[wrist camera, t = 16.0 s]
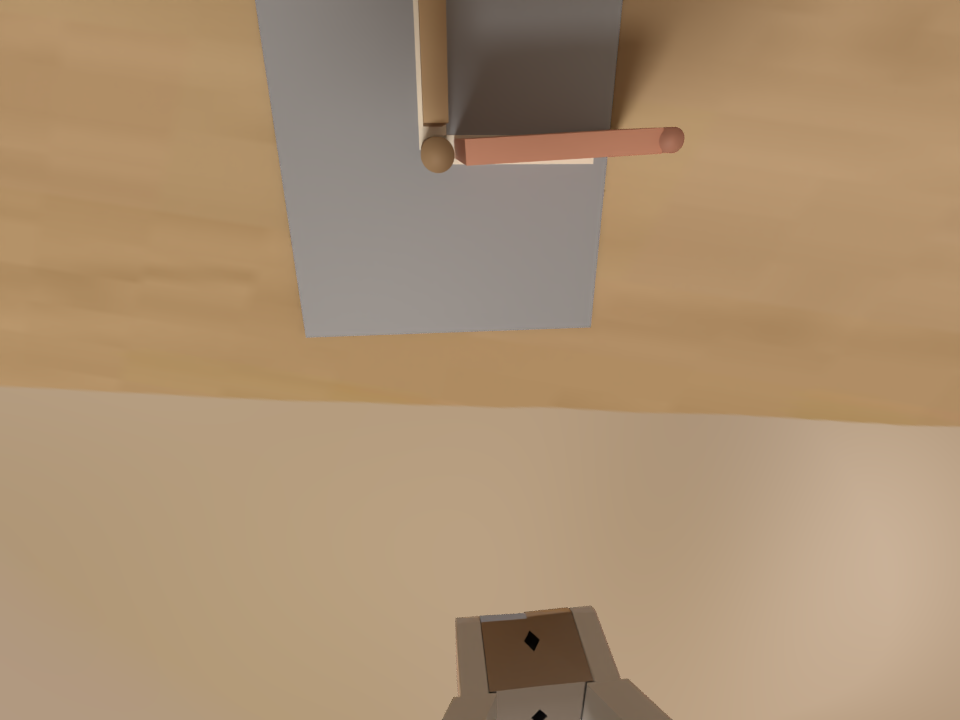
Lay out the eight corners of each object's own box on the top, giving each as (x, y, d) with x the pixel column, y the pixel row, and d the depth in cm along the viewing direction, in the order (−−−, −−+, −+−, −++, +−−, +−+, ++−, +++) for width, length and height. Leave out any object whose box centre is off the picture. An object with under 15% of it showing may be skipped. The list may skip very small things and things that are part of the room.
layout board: (306, 336, 38) (305, 337, 37) (246, -63, 28) (244, -66, 28) (589, 325, 40) (590, 327, 40) (625, -48, 30) (628, -51, 30)
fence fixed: (421, 162, 34) (421, 173, 24) (412, -48, 29) (407, -145, 19) (445, 162, 34) (455, 172, 24) (440, -47, 29) (449, -143, 19)
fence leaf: (614, 148, 34) (682, 152, 25) (454, 158, 34) (466, 166, 24) (614, 129, 34) (685, 126, 25) (453, 138, 33) (465, 139, 24)
